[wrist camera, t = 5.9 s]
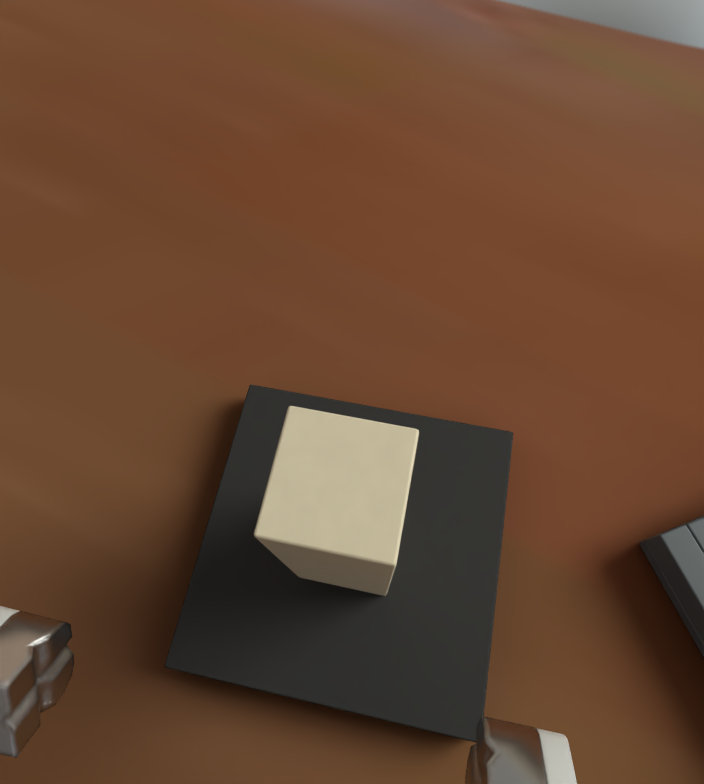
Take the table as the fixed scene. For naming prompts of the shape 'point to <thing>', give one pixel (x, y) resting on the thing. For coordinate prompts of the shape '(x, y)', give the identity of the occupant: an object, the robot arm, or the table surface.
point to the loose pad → (338, 625)
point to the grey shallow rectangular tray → (682, 571)
